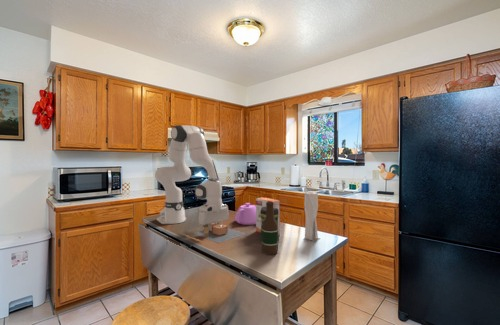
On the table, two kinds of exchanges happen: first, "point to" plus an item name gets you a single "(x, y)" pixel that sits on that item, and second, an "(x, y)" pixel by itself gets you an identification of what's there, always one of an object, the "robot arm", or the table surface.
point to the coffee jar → (263, 217)
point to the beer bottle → (270, 231)
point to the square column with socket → (219, 229)
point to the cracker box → (262, 203)
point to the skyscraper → (311, 215)
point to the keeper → (206, 230)
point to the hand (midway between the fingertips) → (214, 229)
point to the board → (223, 237)
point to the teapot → (246, 214)
